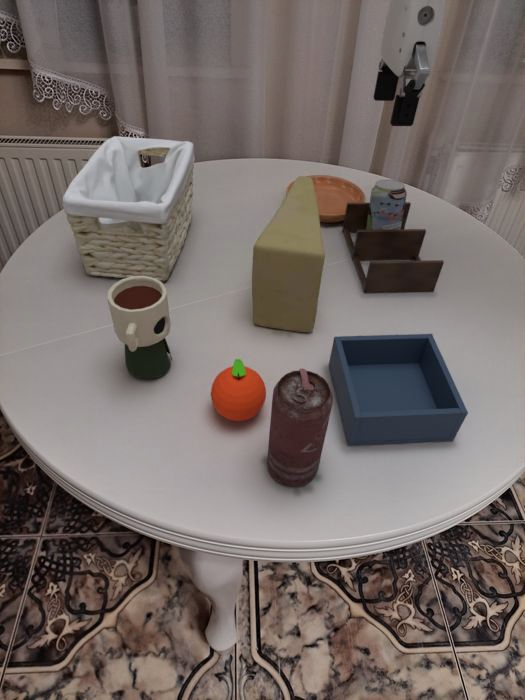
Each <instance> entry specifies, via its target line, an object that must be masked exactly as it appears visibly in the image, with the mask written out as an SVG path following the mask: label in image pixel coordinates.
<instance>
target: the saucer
mask: <svg viewBox="0 0 525 700" xmlns="http://www.w3.org/2000/svg"><path fill="white" fill-rule="evenodd" d="M304 177H311V178H312V180H313V184H314V189H315V194H316V198H317V204H318V210H319V219H320V223H328V224H329V223H340V222H344V217H345V211H346V206H347V203H366V195H365V192H364V191H363V189H361V187H360V186H358V185H357V184H356V183H354V182H352V181H350V180H348V179H345V178H342V177H339V176H334V175H328V174H312V175H306V176H304ZM294 181H295V180H293V181H292V182H290V183H289V184H288V185H287V187H286V189H285V197H286V196H287V194H288V192H289V190H290V188H291V186H292V185H293V183H294Z"/></svg>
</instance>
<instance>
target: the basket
mask: <svg viewBox="0 0 525 700" xmlns="http://www.w3.org/2000/svg"><path fill="white" fill-rule="evenodd" d="M194 154H195V151H194V142H191V141H187V140H185V141H180V140H173V139H172V140H171V139H160V138H146V137H129V136H117V135H114V136H111V137H110V138H108V139H106V140H105V141H104V142H103V143H102V144H101V145H100V146H99V147H98V148H97V150H95V152H94V153H92V155H91V156H90V158H89V160H88V161H87V162H86V163H85V165H84V166H83V167H82V168H81V170H79V172H78V173H77V174H76V175H75V177H74V178H73V179H72V180H71V182H70V183H69V185H68V187H67V189H66V191H65V193H64V195H63V197H62V205H63V211H64V213H65V214H66V219H67V223H68V224H69V225H70V229H71V231H72V232H73V236H74V238H75V240H74V241H75V243H76V246H77V248H78V252H79V255H80V257H81V258H80V259H81V261H82V264H83V267H84V269H83V270H84V272H85V271H86V274H88V275H91V276H99V277H100V276H102V277H106V278H115V279H125V278H128V277H132V276H147V277H152V278H155V279H157V280H158V281H160V282H165V281H167V280H168V279H169V278H170V275H171V273H172V271H173V270H174V266H175V264H176V262H177V260H178V257H179V256H180V254H181V251H182V247H183V246H184V243H185V239H186V238H187V235H188V230H189V228H190V227H189V226H190V225H191V223H192V216H193V211H192V209H193V207H192V206H193V205H192V204H193V200H194V198H193V195H194V191H193V189H194V184H193V181H194V178H193V177H194V169H195V167H194V166H195V161H196V160H195V158H196V157H195V155H194ZM139 155H142V156H143V157H147V156H151V157H156V158H157V157H160V158H164V161H163V162H160V163H155V164H153V165H150V166H147V167H142V165H141V160H140V156H139Z"/></svg>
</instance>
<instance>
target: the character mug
mask: <svg viewBox="0 0 525 700" xmlns="http://www.w3.org/2000/svg"><path fill="white" fill-rule="evenodd" d="M107 304H108V309H109V312H110V316H111V321H112V324H113V329H114V333H115V334H116V336H117V338H118V340H119V342H121V343H122V344H124V360H125V367H126V370H127V372H128V373H130V374H131V375H132V376H134V377H138V378H142V379H157V378H159V377H162V376H163V375H165V374H166V373H167V372H168V371H169V370H170V369H171V362H172V361H173V357H172V354H171V351H170V348H169V345H168V342H167V339H166V338H167V336H169V334H170V333H171V326H172V325H171V317H170V308H169V299H168V292H167V288H166V286H165V285H164V283H163V281H158V280H157V279H155V278H152V277H147V276H132V277H128V278H121V279H119V280H118V281H117V282H115V283H114V284H112V286H111V287H109V289H108V291H107ZM169 357H170V358H169ZM170 361H171V362H170Z"/></svg>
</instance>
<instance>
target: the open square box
mask: <svg viewBox="0 0 525 700" xmlns="http://www.w3.org/2000/svg"><path fill="white" fill-rule="evenodd" d="M328 368H329V373H330V378H331V382H332V386H333V391H334V394H335V400H336V403H337V407H338V411H339V415H340V416H339V417H340V420H341V424H342V428H343V432H344V438H345V441H346V445H347V447H355V446H356V447H357V446H374V445H376V446H377V445H397V444H398V445H399V444H419V443H421V444H422V443H441V442H442V443H443V442H454V441H455V439H456V437H457V434H458V433H459V431H460V429H461V428H462V425H463V423H464V422H465V419H466V418H467V416H468V414H469V411H468V410H467V408H466V405H465V403H464V401H463V398H462V397H461V394H460V392H459V390H458V388H457V386H456V383H455V381H454V379H453V376H452V375H451V373H450V371H449V368H448V366H447V364H446V361H445V359H444V357H443V355H442V353H441V351H440V349H439V346H438V344H437V342H436V339H435V338H434V335H433V333H413V334H412V333H411V334H410V333H409V334H379V335H377V334H375V335H343V336H342V335H341V336H333V342H332V346H331V352H330V357H329V362H328Z"/></svg>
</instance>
